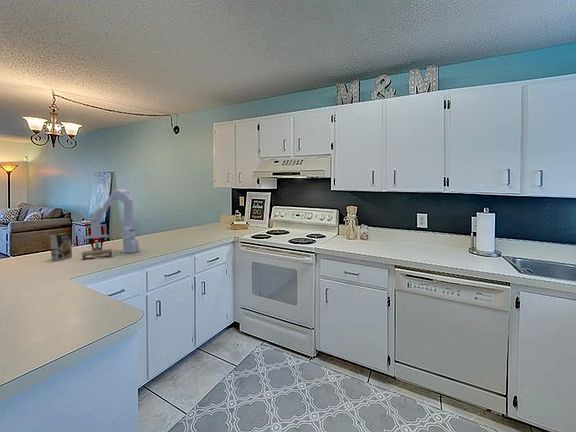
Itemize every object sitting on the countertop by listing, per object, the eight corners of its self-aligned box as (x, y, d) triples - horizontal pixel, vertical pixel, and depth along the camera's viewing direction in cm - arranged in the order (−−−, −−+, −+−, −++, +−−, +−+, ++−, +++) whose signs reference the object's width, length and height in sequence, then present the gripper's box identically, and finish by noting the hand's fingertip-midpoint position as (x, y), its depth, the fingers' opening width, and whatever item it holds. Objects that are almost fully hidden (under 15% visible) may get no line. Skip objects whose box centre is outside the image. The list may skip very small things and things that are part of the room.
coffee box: (59, 260, 188) (57, 235, 186) (51, 259, 189) (49, 234, 187) (72, 257, 197) (70, 232, 195) (64, 256, 198) (62, 232, 196)
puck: (103, 257, 198) (103, 255, 198) (98, 259, 193) (98, 257, 193) (97, 257, 198) (96, 255, 198) (91, 259, 194) (91, 257, 193)
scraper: (92, 251, 213) (91, 241, 212) (102, 250, 216) (101, 240, 215) (92, 256, 200) (91, 245, 199) (102, 255, 203) (102, 244, 203)
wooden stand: (82, 257, 195) (82, 251, 194) (111, 254, 203) (111, 249, 203) (82, 260, 189) (82, 254, 189) (111, 257, 198) (111, 251, 197)
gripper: (107, 228, 219) (108, 246, 220) (83, 229, 211) (85, 248, 212) (108, 229, 213) (109, 248, 214) (83, 231, 205) (84, 250, 207)
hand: (97, 248), depth 213 cm, fingers open, 4 cm apart
